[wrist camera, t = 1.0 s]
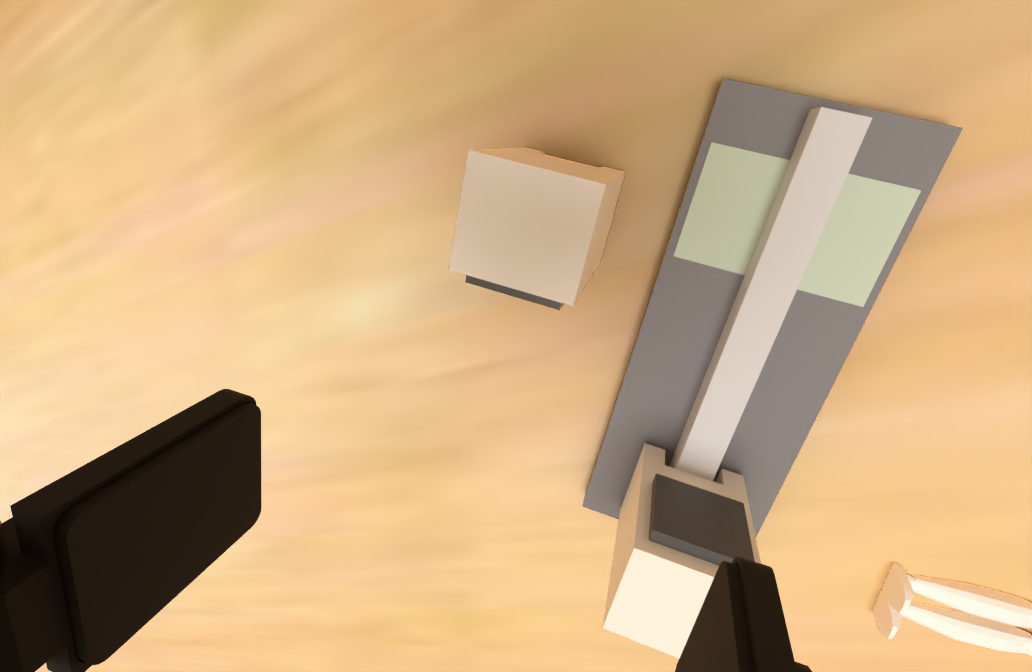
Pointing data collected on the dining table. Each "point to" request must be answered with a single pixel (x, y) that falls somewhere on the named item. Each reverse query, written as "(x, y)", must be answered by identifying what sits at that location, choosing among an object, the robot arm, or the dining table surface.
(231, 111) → the dining table surface
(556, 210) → the cream rectangular block
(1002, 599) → the articulated figure
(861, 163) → the rail board
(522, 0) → the dining table surface
